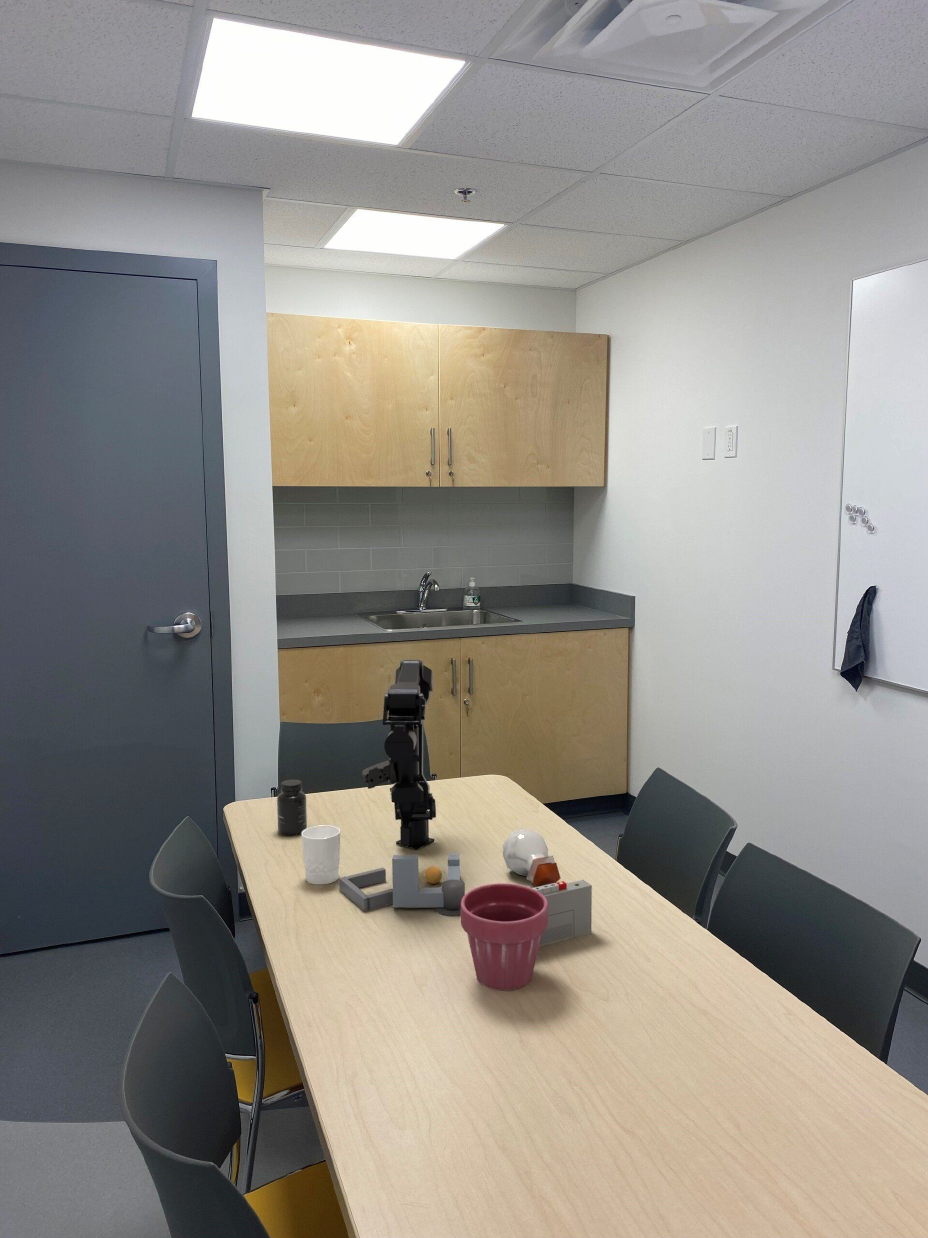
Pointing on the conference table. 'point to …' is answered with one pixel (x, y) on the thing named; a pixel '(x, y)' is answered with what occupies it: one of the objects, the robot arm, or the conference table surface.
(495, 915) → the plant pot
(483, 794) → the conference table surface
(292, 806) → the supplement bottle
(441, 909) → the pivot plate
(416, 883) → the lever
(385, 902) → the pocket
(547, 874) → the potion bottle
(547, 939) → the cassette player
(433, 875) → the ball
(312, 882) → the white cup
